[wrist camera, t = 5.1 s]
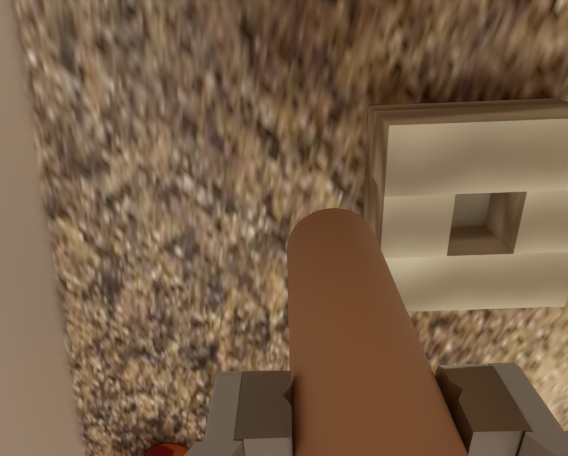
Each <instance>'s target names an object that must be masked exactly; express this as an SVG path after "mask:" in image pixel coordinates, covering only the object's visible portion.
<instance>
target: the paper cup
mask: <svg viewBox="0 0 568 456" xmlns="http://www.w3.org/2000/svg"><path fill="white" fill-rule="evenodd" d="M188 450H189V448H187V447H185V446H183V445H179V444H175V443H161V444H157V445H154V446H152V447H151V448H149V449H148V450H147V451H146V453H145V454H144V456H184V455H185V454H186V453H187V451H188Z"/></svg>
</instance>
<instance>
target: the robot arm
mask: <svg viewBox="0 0 568 456" xmlns="http://www.w3.org/2000/svg"><path fill="white" fill-rule="evenodd" d="M435 378H436V381H437V383H438V385H439V388H440V390H441V392H442V395H443V397H444V399H445V402H446V404H447V406H448V409H449V411H450V414H451V416H452V418H453V421H454V423H455V425H456V428H457V430H458V432H459V435H460V437H461V439H462V442H463V444H464V447H465V449H466V451H467V454H468V456H568V431H564V430H563V429H562V427H561V426H560V424H559V423H558V422H557V420H556V419H555V417H554V416H553V414H552V413H551V411H550V410H549V409H548V407H547V406H546V404H545V403H544V401H543V400H542V398H541V397H540V396H539V394H538V393H537V391H536V390H535V388H534V387H533V385H532V384H531V383H530V381H529V380H528V378H527V377H526V375H525V374H524V372H523V371H522V370H521V368H520V367H519V366H518V365H517V364H515V363H514V362H512V363H489V364H466V365H442V366H438V368H437V370H436V373H435ZM184 456H293V424H292V386H291V371H243V372H218V374H217V376H216V378H215V384H214V389H213V394H212V400H211V405H210V411H209V416H208V421H207V427H206V432H205V438H204V442H196V443H195V444H194V445H193V446H192V447H191V448H190V449H189V450H188V451H187V453H186V454H185V455H184Z"/></svg>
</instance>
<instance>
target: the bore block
mask: <svg viewBox="0 0 568 456" xmlns="http://www.w3.org/2000/svg"><path fill="white" fill-rule="evenodd" d="M363 219H365V221H366V222H367V223H368V224H369V225H370V227H371V228H372V230H373V232H374V234H375V237H376V239H377V241H378V244H379V246H380V249H381V251H382V253H383V256H384V258H385V260H386V263H387V265H388V267H389V270H390V272H391V274H392V277H393V279H394V282H395V284H396V286H397V289H398V291H399V293H400V296H401V298H402V300H403V303H404V305H405V307H406V310H407V312H408V311H438V310H468V309H499V308H529V307H559V306H565V302H566V299H567V296H568V102H566V101H563V100H559V99H556V98H547V99H522V100H497V101H472V102H446V103H421V104H396V105H371V106H368V127H367V149H366V171H365V193H364V215H363Z"/></svg>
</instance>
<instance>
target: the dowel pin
mask: <svg viewBox="0 0 568 456" xmlns="http://www.w3.org/2000/svg"><path fill="white" fill-rule="evenodd" d="M287 265H288V311H289V357H290V371H291V386H292V424H293V456H468V454H467V451H466V449H465V447H464V444H463V442H462V439H461V437H460V435H459V432H458V430H457V428H456V425H455V423H454V421H453V418H452V416H451V414H450V411H449V409H448V406H447V404H446V402H445V399H444V397H443V395H442V392H441V390H440V388H439V385H438V383H437V381H436V378H435V376H434V373H433V371H432V369H431V366H430V364H429V362H428V359H427V357H426V355H425V352H424V350H423V348H422V345H421V343H420V340H419V338H418V336H417V333H416V331H415V329H414V326H413V324H412V322H411V319H410V317H409V315H408V312H407V310H406V307H405V305H404V303H403V300H402V298H401V296H400V293H399V291H398V289H397V286H396V284H395V282H394V279H393V277H392V274H391V272H390V270H389V267H388V265H387V263H386V260H385V258H384V256H383V253H382V251H381V249H380V246H379V244H378V241H377V239H376V237H375V234H374V232H373V230H372V228H371V227H370V225H369V224H368V223H367V222H366V221H365V219H363V218H362V217H361V216H359V215H358V214H356V213H354V212H351V211H349V210H345V209H339V208H330V209H323V210H319V211H316V212H314V213H312V214H309V215H308V216H306V217H305V218H303V219H302V220H301V221H300V222H299V223H298V224H297V225H296V226H295V228H294V229H293V230H292V232H291V234H290V237H289V240H288V245H287Z"/></svg>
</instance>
